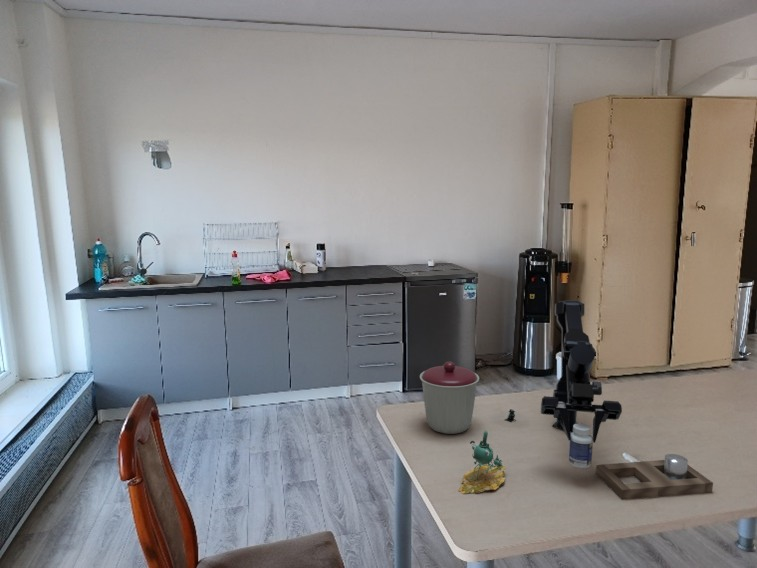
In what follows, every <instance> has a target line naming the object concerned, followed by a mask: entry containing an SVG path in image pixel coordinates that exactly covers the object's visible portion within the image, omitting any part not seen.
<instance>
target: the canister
mask: <svg viewBox="0 0 757 568" xmlns="http://www.w3.org/2000/svg"><path fill="white" fill-rule="evenodd" d="M419 379H420V381H421V384H422V394H423V403H424V409H425V410H424V411H425V416H426V417H425V419H426V423H427V425H428V426H429V427H430V428H431V430H434V431H435V432H438V433H441V434H445V435H448V434H449V435H455V434H456V435H457V434H459V433H464V432H465V431H467V430H468V429H469V428H470V426H471V425H472V424H471V423H472V419H473V414H474V409H475V401H476V394H477V384H478V382H479V381H480V376H479V375H478V373H476V372H474V371H472V370H471V369H469V368H466V367H462V366H457V365H456V364H455V363H454V362H452V361H446V362H444V363H443V365H438V366H433V367H429V368H428V369H426V370H423V372H421V373H420V374H419Z"/></svg>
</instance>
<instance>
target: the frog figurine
mask: <svg viewBox="0 0 757 568" xmlns="http://www.w3.org/2000/svg"><path fill="white" fill-rule="evenodd" d="M488 432H489V431H488V430H484V432H483V436H482V440H480V442H479V444H478V445H476V441H474V440H471V441H470V442H469V444H470V445H471V449H472V450H473V453H472V454H471V455H472V458H473V459H474V460H475V461H473V463H474V465H476V464H477V465H476V466H475V467H473V469H470V470H468V471H466V472H465V473H464V475H463V477H462V478H461V481H460V482H461V483H462V485H461V486H460V487H458V490H457V492H461V494H463V495H465V494H469V493H470V494H480V493H483V492H485V491H491V490H492V491H496V490H497V489H499V488H500V486H501V485H502V484H503V483H504V482H505V480H506V476H505V474H506V468H507V467H506V466H505V465H503V460H502V459H500V458H499V455H498V454H496V458H494V450H493V449H492V447H491V446H490V444H489V443H487V441H488Z"/></svg>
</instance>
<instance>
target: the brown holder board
mask: <svg viewBox="0 0 757 568" xmlns="http://www.w3.org/2000/svg"><path fill="white" fill-rule="evenodd" d="M664 461H665V459H660V460H658V459H657V460H645V461H632V462H631V461H630V462H629V461H628V462H617V463H604V464H596V465H595V475H596V476H597V477H598V478H599V479H600V480H601V481H602V482H603V483H604V484H605V485H606V486H607V487H608V488H609V489H610V490H611V491H612V492H614V494H615V495H616V496H617V497H618V498H619V499H621V500H623V501H624V500H636V499H645V498H648V499H649V498H661V497H670V496H672V497H673V496H685V495H697V494H708V493H713V488H714V482H713V481H712V480H710V479H709V478H707V477H706V476H705V475H703V474H702V473H700V472H699V471H697V470H696V469H695V468H694V467H692V466H691V465H689V464H688V465H687V477H686V479H679V480H670V479H669V478H668V477H667V476H665V475H664ZM631 477H632V478H633V477H634V478H635V479H637V480H638V481H639V482H628V483H624V482H623V481H622V480H621V479H620V478H631Z"/></svg>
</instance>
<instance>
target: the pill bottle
mask: <svg viewBox="0 0 757 568" xmlns="http://www.w3.org/2000/svg"><path fill="white" fill-rule="evenodd" d="M577 423H578V424H574V425H573V432H570V434H571V440H568V441H569V444H568V445H569V448H568V463H569V464H570V465H571V466H573V467H575V468H580V469H588V468H590V467H591V466H592V458H593V445H594V443H593V435H591V426H590V425H588V424H585V423H579V422H577Z"/></svg>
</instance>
